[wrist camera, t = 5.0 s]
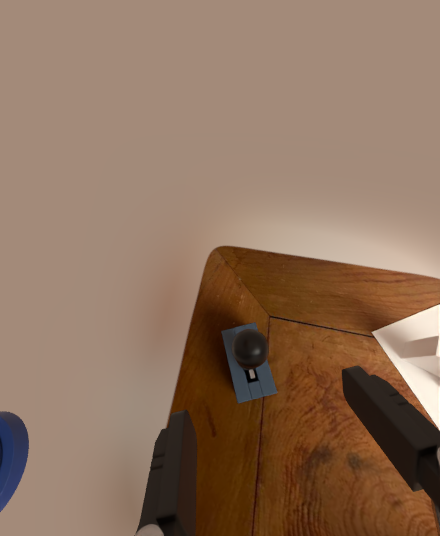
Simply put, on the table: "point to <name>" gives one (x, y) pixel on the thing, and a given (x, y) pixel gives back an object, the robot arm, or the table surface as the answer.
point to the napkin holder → (417, 355)
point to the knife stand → (243, 387)
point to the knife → (250, 350)
